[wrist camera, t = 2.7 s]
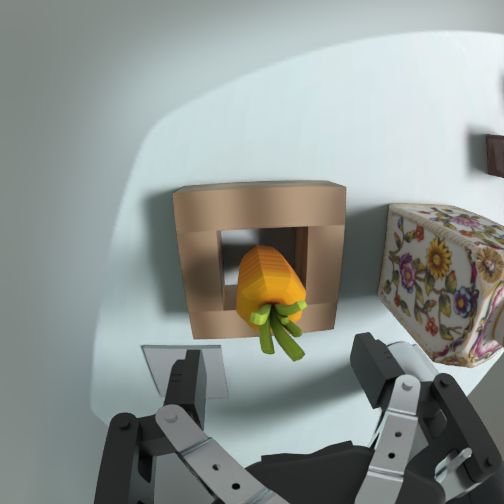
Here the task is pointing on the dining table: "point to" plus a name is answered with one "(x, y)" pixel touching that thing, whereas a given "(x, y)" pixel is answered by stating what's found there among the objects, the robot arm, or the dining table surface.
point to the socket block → (251, 217)
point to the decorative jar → (445, 281)
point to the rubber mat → (168, 355)
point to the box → (495, 155)
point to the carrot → (271, 299)
